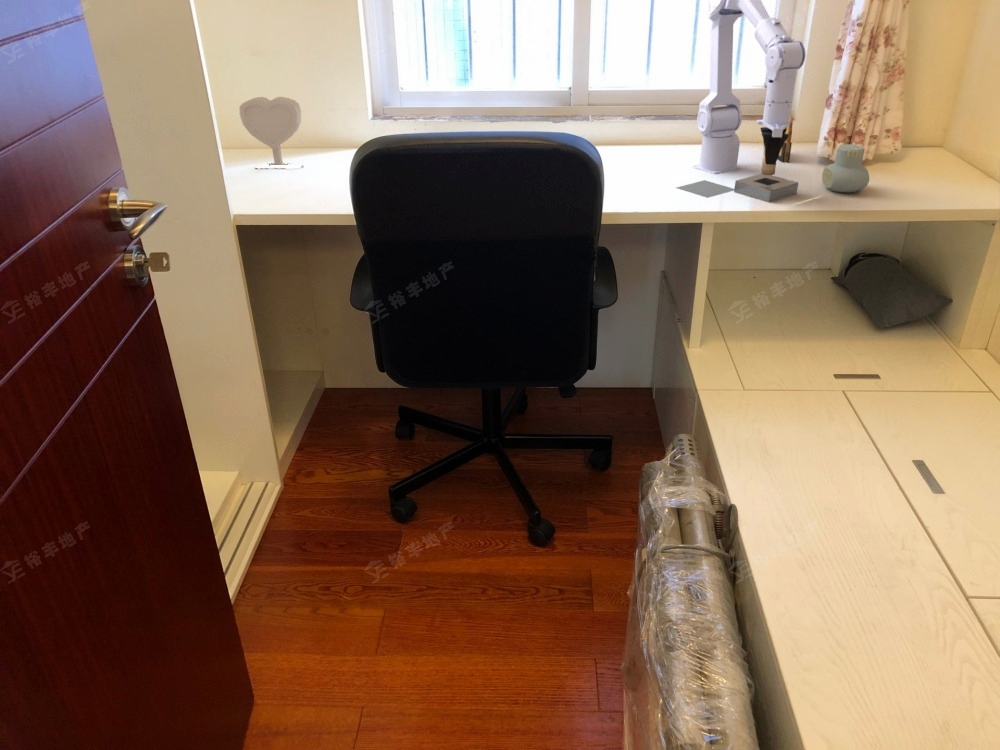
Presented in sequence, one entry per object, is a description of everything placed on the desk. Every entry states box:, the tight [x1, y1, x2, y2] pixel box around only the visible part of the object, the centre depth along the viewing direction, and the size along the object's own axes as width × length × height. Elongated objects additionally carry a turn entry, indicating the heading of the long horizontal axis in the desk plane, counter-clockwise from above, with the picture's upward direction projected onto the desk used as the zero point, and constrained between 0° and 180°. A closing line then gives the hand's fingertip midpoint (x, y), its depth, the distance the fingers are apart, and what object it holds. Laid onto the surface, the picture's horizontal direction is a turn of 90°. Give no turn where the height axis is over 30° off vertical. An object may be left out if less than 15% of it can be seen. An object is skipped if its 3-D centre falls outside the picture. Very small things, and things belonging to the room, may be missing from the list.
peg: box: [760, 143, 777, 176], centre depth 181 cm, size 3×3×9 cm
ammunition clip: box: [777, 114, 794, 163], centre depth 211 cm, size 11×2×12 cm, turn 4°
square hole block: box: [733, 173, 799, 203], centre depth 185 cm, size 10×10×3 cm
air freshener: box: [821, 143, 870, 194], centre depth 185 cm, size 11×8×10 cm
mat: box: [675, 179, 734, 198], centre depth 190 cm, size 10×10×1 cm
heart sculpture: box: [239, 96, 302, 166], centre depth 212 cm, size 16×5×18 cm, turn 85°
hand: (769, 162), depth 182 cm, fingers closed on peg, 3 cm apart
